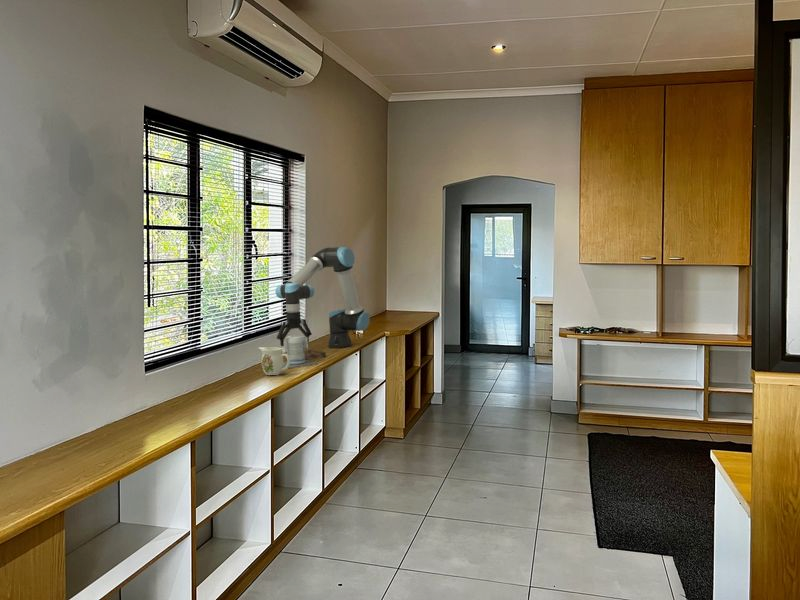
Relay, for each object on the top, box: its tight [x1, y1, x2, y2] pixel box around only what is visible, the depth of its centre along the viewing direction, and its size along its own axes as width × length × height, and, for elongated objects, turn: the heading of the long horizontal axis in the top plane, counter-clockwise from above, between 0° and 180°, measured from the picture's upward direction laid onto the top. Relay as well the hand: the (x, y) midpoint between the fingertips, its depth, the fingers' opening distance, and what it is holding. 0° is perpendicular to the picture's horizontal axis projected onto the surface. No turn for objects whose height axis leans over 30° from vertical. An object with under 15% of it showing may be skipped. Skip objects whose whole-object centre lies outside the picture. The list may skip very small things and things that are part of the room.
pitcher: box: [257, 346, 290, 376], centre depth 349 cm, size 11×18×14 cm, turn 68°
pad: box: [283, 359, 319, 369], centre depth 377 cm, size 18×18×1 cm
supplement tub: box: [285, 335, 305, 364], centre depth 377 cm, size 10×10×15 cm
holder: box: [304, 348, 327, 360], centre depth 400 cm, size 14×16×2 cm
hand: (295, 350), depth 377 cm, fingers open, 13 cm apart
